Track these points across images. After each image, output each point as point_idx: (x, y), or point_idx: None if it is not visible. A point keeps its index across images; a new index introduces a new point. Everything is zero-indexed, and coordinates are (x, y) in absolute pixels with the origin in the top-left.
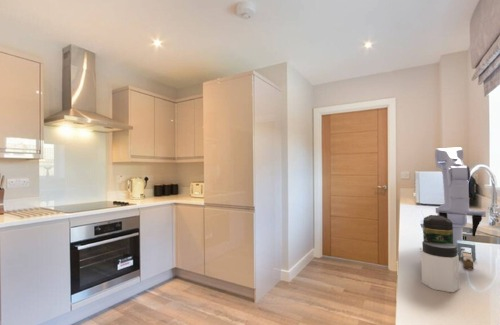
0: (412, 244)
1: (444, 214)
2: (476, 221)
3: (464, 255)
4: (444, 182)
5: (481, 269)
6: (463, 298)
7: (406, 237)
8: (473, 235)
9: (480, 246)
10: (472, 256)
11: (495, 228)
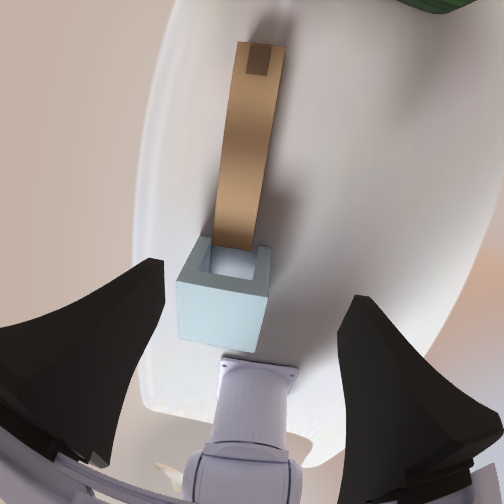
0: None
1: (431, 480)
2: (31, 342)
3: (257, 166)
4: None
5: (205, 75)
6: None
7: None
8: (154, 261)
9: (173, 394)
10: (208, 245)
11: (154, 463)
